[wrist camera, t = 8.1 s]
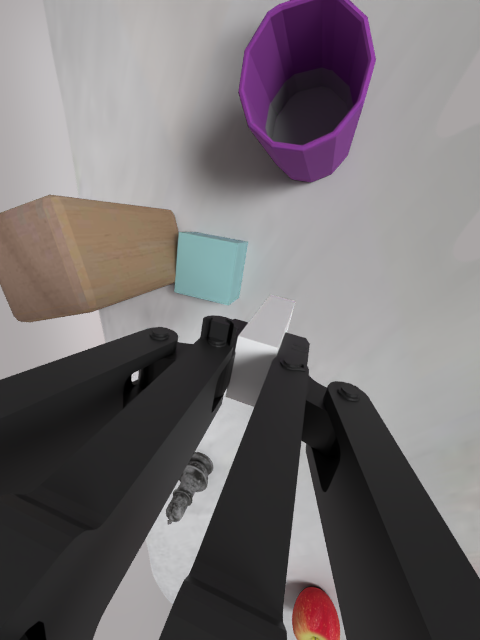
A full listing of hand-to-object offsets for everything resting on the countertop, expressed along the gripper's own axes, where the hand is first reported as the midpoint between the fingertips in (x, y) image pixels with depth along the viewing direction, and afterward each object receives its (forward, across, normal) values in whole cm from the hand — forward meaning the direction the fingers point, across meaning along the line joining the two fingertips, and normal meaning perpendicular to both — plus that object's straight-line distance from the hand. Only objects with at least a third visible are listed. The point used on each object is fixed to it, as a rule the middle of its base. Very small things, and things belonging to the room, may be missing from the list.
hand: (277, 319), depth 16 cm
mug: (+23, -4, +17) cm, 29 cm away
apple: (+22, +19, -61) cm, 68 cm away
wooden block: (+23, -22, -3) cm, 32 cm away
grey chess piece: (+23, -9, -41) cm, 47 cm away
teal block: (+23, -12, -3) cm, 26 cm away
